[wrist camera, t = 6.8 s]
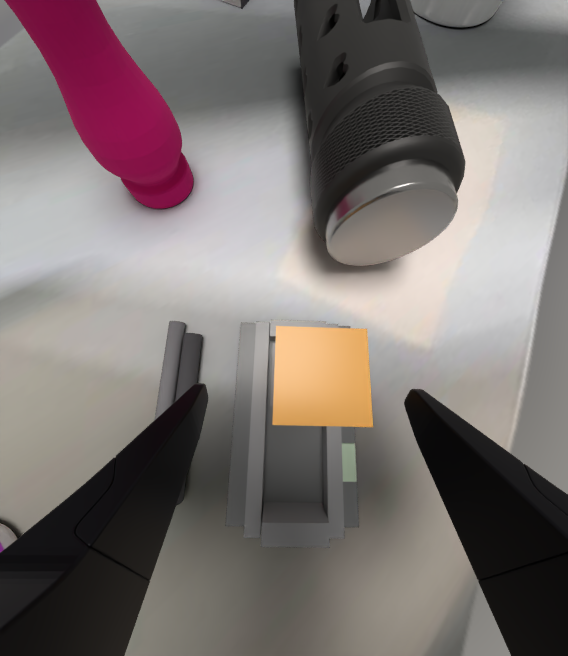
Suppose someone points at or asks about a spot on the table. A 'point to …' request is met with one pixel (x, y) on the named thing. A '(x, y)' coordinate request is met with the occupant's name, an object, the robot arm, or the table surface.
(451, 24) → the utensil holder
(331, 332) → the block
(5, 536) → the supplement bottle
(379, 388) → the table surface
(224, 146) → the table surface
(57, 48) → the pepper mill
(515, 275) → the table surface
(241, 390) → the grey holder tray
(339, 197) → the muzzle brake
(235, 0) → the notebook
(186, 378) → the cord bundle
